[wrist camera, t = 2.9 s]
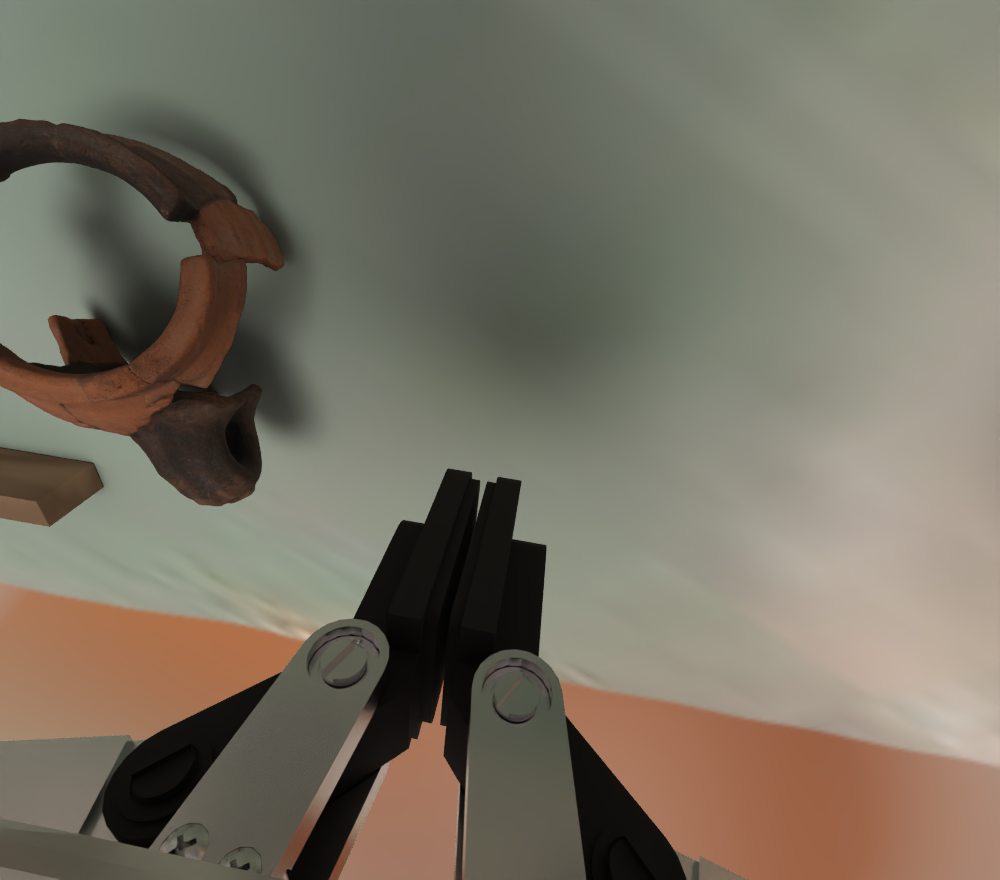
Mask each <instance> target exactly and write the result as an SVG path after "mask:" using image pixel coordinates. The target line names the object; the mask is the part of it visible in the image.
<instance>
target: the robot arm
mask: <svg viewBox="0 0 1000 880" xmlns="http://www.w3.org/2000/svg"><path fill="white" fill-rule="evenodd" d="M520 487H521V481H520V480H514V479H508V478H502V477H498V478H497V482H496V483H493V482H487V484H486V488H485V491H484V495H483V499H482V502H481V506H480V510H479V513H478V517H477V508H478V499H479V490H480V480H475V479H472V472H466V471H460V470H454V469H447V471H446V473H445V475H444V478H443V480H442V483H441V485H440V487H439V490H438V492H437V495H436V497H435V499H434V502H433V504H432V507H431V509H430V512H429V514H428V516H427V519H426V521H425V524H423V523H417V522H412V521H406V520H403V521H401V522H400V524H399V526H398V528H397V530H396V532H395V534H394V536H393V538H392V540H391V542H390V544H389V546H388V548H387V550H386V552H385V554H384V556H383V559H382V561H381V563H380V565H379V567H378V569H377V571H376V573H375V575H374V577H373V579H372V581H371V583H370V585H369V587H368V589H367V592H366V594H365V596H364V598H363V600H362V602H361V604H360V606H359V608H358V610H357V612H356V614H355V616H354V618H353V619H343V620H338V621H335V622H332V623H329V624H327V625H325V626H323V627H322V628H320V629H318V630H317V631H315V632H314V633H313V634H312V635H311V636H310V637H309V638H308V639H307V640H306V641H305V642H304V644H303V645H302V646H301V648H300V649H299V650H298V651H297V653H296V654H295V656H294V657H293V658H292V659H291V661H290V662H289V663H288V665H287V666H286V667H285V669H284V670H283V671H282V672H281V673H278V674H277V675H275V676H273V677H270V678H268V679H266V680H264V681H262V682H260V683H258V684H256V685H254V686H252V687H250V688H248V689H246V690H244V691H242V692H240V693H238V694H235V695H234V696H231V697H229V698H227V699H225V700H223V701H221V702H219V703H217V704H215V705H213V706H211V707H209V708H207V709H205V710H203V711H201V712H199V713H197V714H195V715H193V716H190V717H188V718H186V719H185V720H182V721H180V722H178V723H176V724H174V725H172V726H170V727H168V728H166V729H164V730H162V731H160V732H158V733H157V734H155V735H153V736H152V737H150V738H148V739H147V740H141V741H133V740H132V739H131V737H130V735H122V736H121V735H120V736H101V737H80V738H60V739H41V740H22V741H21V740H20V741H1V742H0V880H338V878H339V876H340V874H341V872H342V870H343V867H344V865H345V863H346V861H347V859H348V856H349V854H350V852H351V850H352V848H353V845H354V843H355V841H356V839H357V837H358V834H359V832H360V830H361V828H362V826H363V823H364V821H365V819H366V817H367V814H368V812H369V810H370V808H371V806H372V804H373V801H374V799H375V797H376V795H377V793H378V790H379V788H380V786H381V784H382V781H383V779H384V777H385V775H386V773H387V770H388V766H389V764H390V761H391V760H392V759H394V758H395V757H396V756H398V755H399V754H401V753H402V752H404V751H405V750H407V749H408V748H409V745H410V742H411V738H414V739H418V735H419V732H420V728H421V724H422V721H423V722H428V723H432V722H433V719H434V715H435V711H436V707H437V703H438V699H439V695H440V692H441V688H442V684H443V680H444V686H443V699H442V710H441V723H440V725H443V726H446V736H445V746H444V757H445V759H446V761H447V762H448V764H449V766H450V767H451V769H452V771H453V772H454V774H455V776H456V778H457V779H458V781H459V791H458V810H457V828H456V848H455V866H454V867H455V868H454V880H747V879H745V878H744V877H741V876H739V875H737V874H735V873H733V872H731V871H729V870H727V869H725V868H723V867H721V866H719V865H717V864H715V863H713V862H711V861H709V860H707V859H705V858H703V857H701V856H699V858H698V859H697V860H696V861H695V860H693V859H691V858H689V857H687V856H685V855H683V854H681V853H679V852H677V851H675V850H673V848H672V847H671V845H670V843H669V842H668V840H667V839H666V837H665V836H664V835H663V834H662V833H661V831H660V830H659V829H658V828H657V826H656V825H655V824H654V823H653V822H652V820H651V819H650V818H649V817H648V815H647V814H646V813H645V812H644V811H643V809H642V808H641V807H640V806H639V805H638V803H637V802H636V801H635V800H634V799H633V797H632V796H631V795H630V794H629V792H628V791H627V790H626V789H625V787H624V786H623V785H622V784H621V783H620V781H619V780H618V779H617V778H616V776H615V775H614V774H613V773H612V772H611V770H610V769H609V768H608V767H607V766H606V764H605V763H604V762H603V761H602V759H601V758H600V757H599V756H598V755H597V753H596V752H595V751H594V750H593V748H592V747H591V746H590V745H589V744H588V742H587V741H586V740H585V739H584V738H583V736H582V735H581V734H580V733H579V731H578V730H577V729H576V728H575V727H574V725H573V724H572V723H571V722H570V720H569V719H568V718H567V717H566V716H565V709H564V701H563V694H562V689H561V686H560V682H559V679H558V677H557V676H556V674H555V673H554V671H553V670H552V668H551V667H550V666H549V665H548V664H547V663H546V662H545V661H544V660H542V659H541V658H540V657H538V656H539V642H540V629H541V616H542V602H543V589H544V575H545V562H546V545H542V544H536V543H531V542H525V541H519V540H514V539H512V537H513V530H514V524H515V518H516V512H517V506H518V500H519V493H520ZM476 517H477V521H476Z"/></svg>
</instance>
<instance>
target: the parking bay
mask: <svg viewBox="0 0 1000 880" xmlns="http://www.w3.org/2000/svg"><path fill="white" fill-rule="evenodd" d="M101 488H103V485H102V483H101V480H100V478H99V476H98V474H97V471H96V469H95V467H94V464H93V463H88V462H82V461H76V460H70V459H64V458H58V457H52V456H46V455H40V454H34V453H28V452H22V451H17V450H11V449H5V448H0V518H4V519H9V520H15V521H21V522H26V523H32V524H38V525H43V526H49V527H50V526H51V525H53V524H54V523H55V522H57V521H58V520H59V519H61V518H62V517H63V516H65V515H66V514H68V513H69V512H70V511H72V510H73V509H74V508H76V507H77V506H78V505H80V504H81V503H82V502H84V501H85V500H86V499H88V498H89V497H91V496H92V495H93V494H95V493H96V492H97V491H99V490H100V489H101Z"/></svg>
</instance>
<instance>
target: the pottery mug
mask: <svg viewBox="0 0 1000 880" xmlns="http://www.w3.org/2000/svg"><path fill="white" fill-rule="evenodd" d="M52 162H64V163H76V164H81V165H85V166H89V167H92V168H97V169H100V170H102V171H105V172H108V173H111V174H113V175H115V176H117V177H119V178H121V179H123V180H124V181H126V182H127V183H128V184H130V185H131V186H133V187H134V188H135V189H136V190H138V191H139V192H140V193H142V194H143V195H144V196H145V197H146V198H147V199H148V200H149V201H150V202H151V203H152V204H153V206H154V207H155V208H156V209H157V210H158V212H159V213H160V214H161V215H162V216H163V217H164V218H165V219H166V220H168V221H173V222H174V221H175V222H179V221H181V222H188V223H190V224H191V226H192V228H193V231H194V233H195V236H196V238H197V240H198V241H199V243H200V246H201V248H202V255H197V256H192V257H186V258H184V259H183V260H182V261H181V275H180V288H179V295H178V301H177V306H176V310H175V313H174V314H173V316H172V318H171V320H170V322H169V324H168V325H167V327H166V328H165V330H164V332H163V333H162V334H161V336H160V337H159V338H158V339H157V340H156V341H155V342H154V343H153V344H152V345H151V346H150V347H149V348H148V349H146V350H145V351H144V352H143V353H142V354H141V355H139V356H138V357H137V358H135V359H134V360H133V361H132V362H131V363H130V364H128V363H127V361H126V360H125V359H124V358H123V357H122V355H121V354H120V352H119V350H118V349H117V347H116V346H115V345H114V343H113V342H112V340H111V338H110V336H109V334H108V332H107V329H106V327H105V325H104V324H103V322H102V321H101V320H99V319H69V318H67V317H64V316H59V315H53V316H50V317H49V319H48V322H49V326H50V329H51V331H52V333H53V335H54V337H55V339H56V341H57V343H58V345H59V349H60V353H61V356H62V358H63V361H64V363H65V366H61V367H58V366H52V365H44V364H40V363H28V362H26V361H24V360H22V359H21V358H19V357H18V356H17V355H16V354H15V353H13V352H12V351H11V350H9V349H8V348H6V347H5V346H3V345H2V344H1V343H0V386H1V387H4V388H6V389H8V390H10V391H13V392H14V393H16V394H17V395H19V396H20V397H22V398H24V399H25V400H27V401H28V402H30V403H32V404H33V405H35V406H37V407H38V408H40V409H42V410H43V411H45V412H47V413H49V414H51V415H53V416H55V417H57V418H60V419H62V420H65V421H67V422H71V423H73V424H75V425H77V426H81V427H85V428H93V429H98V430H103V431H107V432H112V433H117V434H121V435H125V436H130V437H131V438H132V439H133V440H134V441H135V442H136V443H137V444H138V445H139V446H140V447H141V448H142V450H143V451H144V452H145V453H146V455H147V456H148V458H149V459H150V461H151V462H152V464H153V465H154V467H155V469H156V470H157V472H158V474H159V475H160V476H161V477H163V478H164V479H165V480H166V481H168V482H169V483H170V484H171V485H173V486H174V487H175V488H176V489H177V490H178V491H179V492H180V493H181V494H183V495H184V496H186V497H187V498H189V499H192V500H194V501H195V502H196V503H198V504H200V505H211V506H222V505H224V504H226V503H235V502H237V501H240V500H242V499H244V498H246V497H248V496H249V495H251V494H252V493H253V492H254V490H255V484H256V482H257V481H258V479H259V477H260V474H261V468H262V459H261V451H260V446H259V440H258V436H257V432H256V428H255V423H254V415H255V410H256V406H257V403H258V401H259V398H260V396H261V391H262V389H261V387H259V386H258V385H256V384H252V385H250V386H249V387H247V388H246V389H244V390H243V391H241V392H239V393H237V394H234V395H232V396H228V397H225V396H217V393H216V392H215V391H210V392H186V391H180V390H178V389H179V387H180V386H181V385H183V384H189V385H193V386H196V387H201V388H207V387H208V386H209V385H210V384H211V383H212V381H213V379H214V377H215V375H216V374H217V372H218V370H219V368H220V367H221V365H222V363H223V360H224V357H225V356H226V355H227V353H228V351H229V350H230V348H231V346H232V344H233V341H234V336H235V332H236V329H237V326H238V322H239V319H240V317H241V314H242V311H243V307H244V304H245V298H246V291H247V266H246V263H259V264H262V265H264V266H266V267H269V268H270V269H272V270H274V271H277V270H279V269H280V268H282V267H283V266H284V259H283V256H282V253H281V250H280V248H279V246H278V244H277V242H276V240H275V238H274V236H273V234H272V232H271V230H270V229H269V228H268V227H267V225H266V224H265V223H263V222H262V221H261V220H259V219H258V217H257V216H256V214H255V213H254V212H253V211H252V210H248V209H245V208H243V207H241V206H239V205H238V204H237V199H236V196H235V195H234V194H233V193H232V192H231V191H230V190H229V189H228V188H227V187H226V186H225V185H223V184H221V183H220V182H218V181H216V180H215V179H213V178H212V177H210V176H209V175H207V174H205V173H204V172H202V171H201V170H199V169H197V168H195V167H193V166H191V165H189V164H188V163H186V162H184V161H183V160H181V159H179V158H177V157H175V156H173V155H171V154H169V153H167V152H164V151H162V150H160V149H158V148H155V147H152V146H150V145H147V144H145V143H142V142H138V141H135V140H131V139H127V138H123V137H119V136H115V135H110V134H102V133H100V132H98V131H95V130H91V129H87V128H84V127H80V126H75V125H70V124H64V123H62V124H59V125H55V124H53V123H50V122H48V121H43V120H39V121H35V120H26V119H18V120H14V121H11V122H2V123H0V182H2V181H5V180H6V179H8V178H9V177H10V174H12V173H14V172H15V171H18V170H20V169H23V168H26V167H29V166H35V165H38V164H44V163H52Z"/></svg>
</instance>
